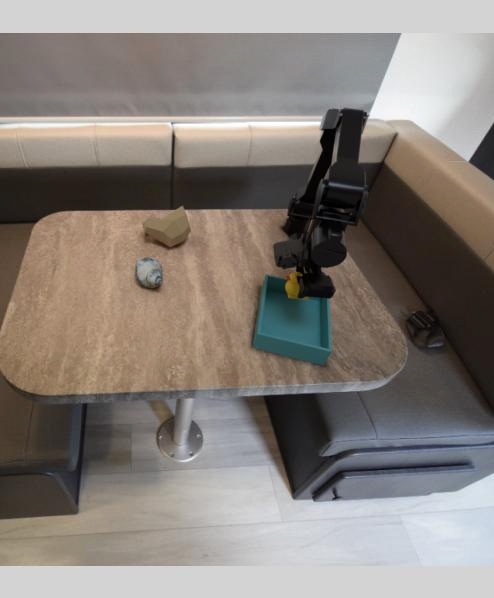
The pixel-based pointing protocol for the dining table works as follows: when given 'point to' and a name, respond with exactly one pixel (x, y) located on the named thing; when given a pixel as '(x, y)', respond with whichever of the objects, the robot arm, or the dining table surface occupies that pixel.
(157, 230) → the tan rock
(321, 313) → the teal tray
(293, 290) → the duck
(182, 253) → the dining table surface
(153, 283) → the seashell
